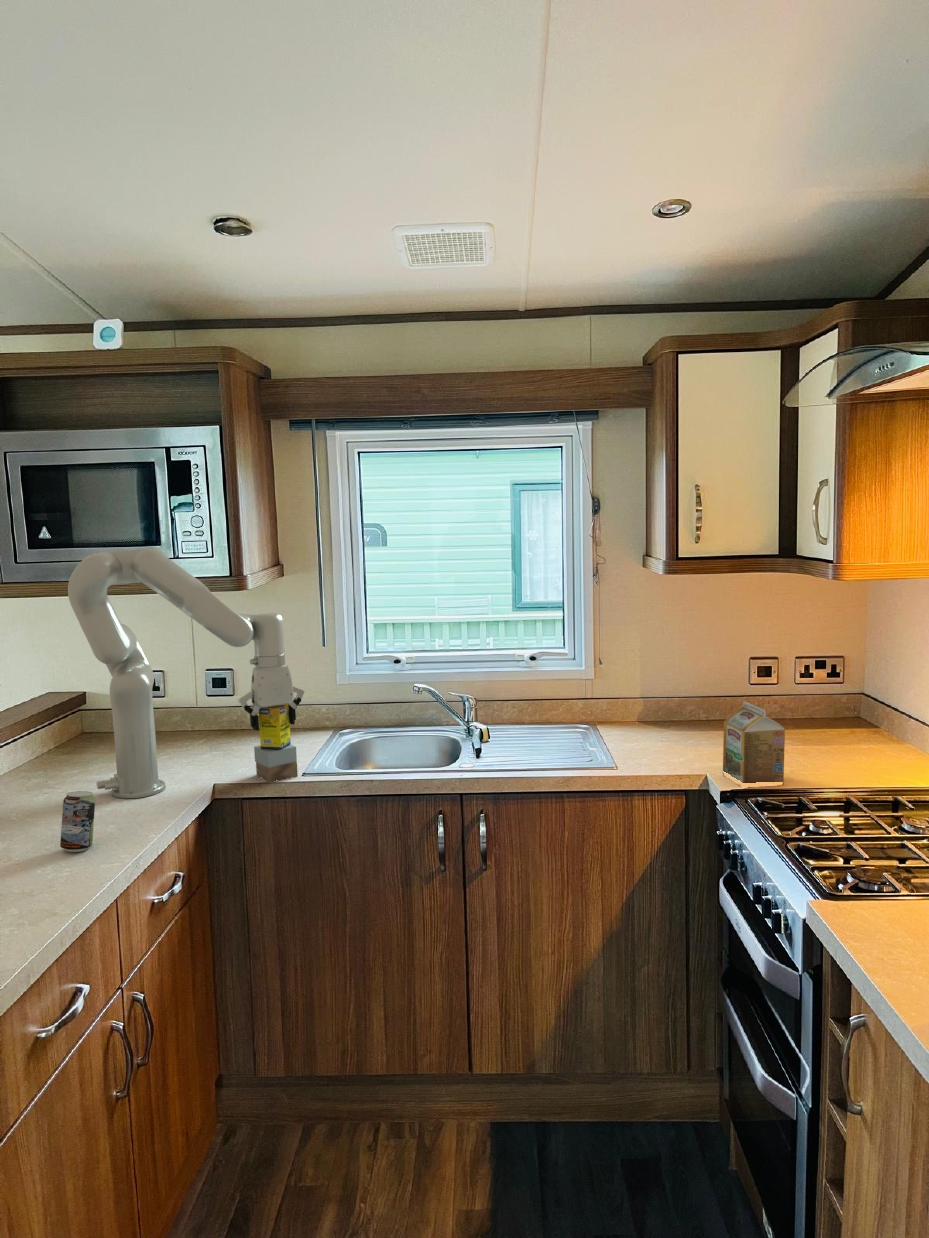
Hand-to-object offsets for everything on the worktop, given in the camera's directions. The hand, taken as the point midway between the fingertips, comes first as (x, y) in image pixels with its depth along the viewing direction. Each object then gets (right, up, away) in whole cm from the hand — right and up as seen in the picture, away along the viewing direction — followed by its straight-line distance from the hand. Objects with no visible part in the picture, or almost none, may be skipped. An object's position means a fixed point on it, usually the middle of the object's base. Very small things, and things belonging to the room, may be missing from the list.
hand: (273, 726), depth 220 cm
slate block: (0, -9, +2) cm, 10 cm away
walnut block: (0, -13, +2) cm, 14 cm away
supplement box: (0, -6, +1) cm, 6 cm away
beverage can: (-30, -20, -45) cm, 57 cm away
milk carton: (+121, -13, -9) cm, 122 cm away
